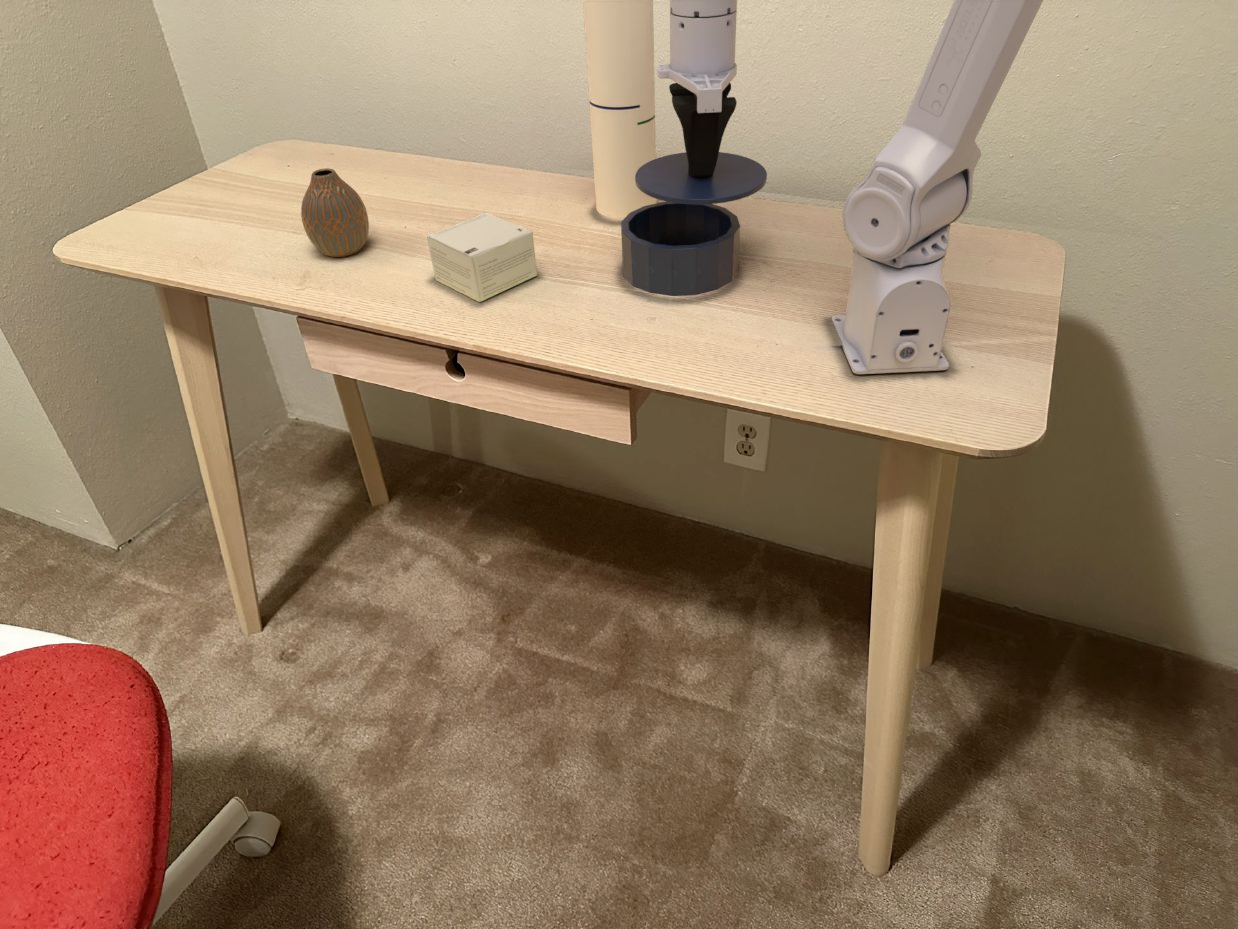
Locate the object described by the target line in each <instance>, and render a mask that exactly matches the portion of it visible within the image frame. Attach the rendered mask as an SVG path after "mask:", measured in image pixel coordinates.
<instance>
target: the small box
mask: <svg viewBox="0 0 1238 929" xmlns="http://www.w3.org/2000/svg"><path fill="white" fill-rule="evenodd" d="M426 240H427V245H428V249H429V253H430V254H429V255H430V260H431V264H432V269H433V276H434V279H435V280H436V281H437V282H438V283H441V284H443V285H444V286H447V287H448V288H450V289H452V290H455V291H456V292H458V293H460V294H461V295H464V296H466V297H468V298H469V299H472V300H474V301H476V302H479V303H481V302H483V301H485V300H487V299H490V298H492V297H494V296H496V295H498V294H500V293H503V292H504V291H507V290H509V289H511V288H513V287H516V286H517V285H520V284H522V283H523V282H526V281H528V280H531V279H533V278H535V277H537V276H538V266H537V260H536V259H537V258H536V250H535V243H534V233H533V231H532V230H530V229H529V228H527V227H524V226H522V225H520V224H517V223H514V222H511V221H508V220H506V219H503V218H502V217H499V216H495V215H493V214H491V213H489V212H486V211H485V212H482V213H480V214H478V215H476V216H473V217H471V218H469V219H465V220H463V221H460V222H458V223H457V224H453V225H451V226H448V227H445V228H444V229H440V230H438V231H436V232H432V233H430V234H427V235H426Z"/></svg>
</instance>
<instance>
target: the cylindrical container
mask: <svg viewBox="0 0 1238 929" xmlns="http://www.w3.org/2000/svg"><path fill="white" fill-rule="evenodd" d="M582 9H583V24H584V25H583V26H584V40H585V41H584V42H585V54H586V55H585V56H586V57H585V58H586V69H587V84H588V99H589V117H590V118H589V119H590V131H591V132H590V133H591V149H592V166H593V179H594V193H595V194H594V195H595V208H596V212H598V213H599V214H601V215H602V216H604V217H608V218H613V219H624V218H625V217H626V216H627V215H628V214H629V213H630V212H633V211H635V210H637V209H639V208H641V207H643V206H647V205H651V204H656V203H658V199H656V198H653V197H650V196H648V195H646V194H645V193H643V192H642V191H641V190H640V189H639V188H638V187H637V185H636V182H635V174H636V172H637V170H638V169H639V168H640V167H641V166H643V165H644V164H646V163H647V162H649V161H652V160H654V159H657V142H656V140H657V139H656V138H657V136H656V134H657V132H656V86H655V83H656V82H655V41H654V39H655V37H654V36H655V33H654V32H655V31H654V29H655V28H654V0H582Z"/></svg>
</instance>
